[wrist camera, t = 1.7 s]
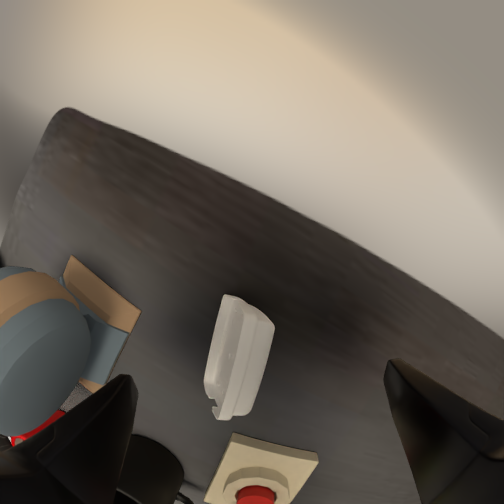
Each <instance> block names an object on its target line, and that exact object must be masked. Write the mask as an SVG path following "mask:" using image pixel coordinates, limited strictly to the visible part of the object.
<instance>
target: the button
mask: <svg viewBox="0 0 504 504" xmlns="http://www.w3.org/2000/svg"><path fill="white" fill-rule="evenodd" d="M237 504H274V492H273V491H272V490H271V489H270V488H268V487H264V486H260V485H250V486H245V487H243V488H242V489H240V491H239V492H238V498H237Z"/></svg>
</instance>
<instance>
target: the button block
mask: <svg viewBox="0 0 504 504" xmlns="http://www.w3.org/2000/svg"><path fill="white" fill-rule="evenodd" d="M318 462H319V461H318V456H317V453H315V452H310V451H305V450H300V449H295V448H290V447H286V446H282V445H277V444H273V443H269V442H265V441H262V440H258V439H254V438H251V437H247V436H244V435H241V434H237V433H234V432H233V433H232V436H231V438H230V440H229V443H228V445H227V447H226V449H225V452H224V454H223V456H222V458H221V461H220V463H219V465H218V467H217V469H216V472H215V474H214V476H213V478H212V480H211V482H210V484H209V487H208V489H207V491H206V493H205V497H204V500H203V501H205V502H208V503H211V504H237V498H238V492H239V491H240V489H242V488H243V487H245V486H250V485H260V486H264V487H268V488H270V489H271V490H272V491H273V492H274V504H290V502H291V501H292V500H293V498H294V497H295V496H296V494H297V493H298V492H299V490H300V489H301V487H302V486H303V485H304V483H305V482H306V480H307V479H308V477H309V476H310V475H311V473H312V472H313V470H314V469H315V467H316V466H317V464H318Z"/></svg>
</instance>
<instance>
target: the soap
mask: <svg viewBox="0 0 504 504" xmlns="http://www.w3.org/2000/svg"><path fill="white" fill-rule="evenodd" d="M274 331H275V326H274V324H273V323H272V322H271V321H270V319H269V318H268V317H267V316H266V315H265V314H264V313H263V312H261V311H260V310H259V309H257V308H256V307H254V306H252V305H249V304H247V303H246V302H245V301H244V300H242V299H240V298H238V297H236V296H231V295H226V294H224V296H223V298H222V302H221V305H220V309H219V313H218V317H217V321H216V325H215V329H214V333H213V337H212V342H211V346H210V351H209V355H208V360H207V365H206V370H205V375H204V388H205V392H206V394H207V395H208V397H209V398H211V399H215V401H216V404H217V406H218V407H214V406H213V407H212V408H213V410H212V412H213V414H214V416H215V418H216V419H217V420H230V419H231V418H232V416H233V415H234V416H243V415H246V414H248V413H249V412H250V411H251V409H252V406H253V404H254V401H255V398H256V395H257V392H258V389H259V386H260V383H261V380H262V377H263V373H264V370H265V367H266V363H267V359H268V355H269V352H270V348H271V343H272V339H273V335H274Z"/></svg>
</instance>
